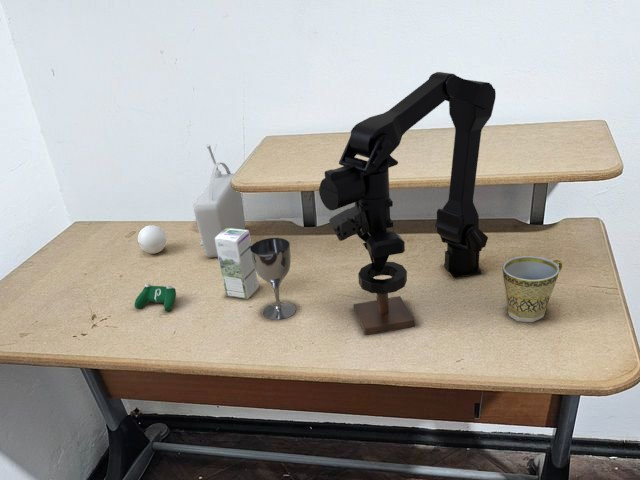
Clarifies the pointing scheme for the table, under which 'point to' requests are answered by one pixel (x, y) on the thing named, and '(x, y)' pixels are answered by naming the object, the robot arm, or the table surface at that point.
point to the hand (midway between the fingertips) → (377, 269)
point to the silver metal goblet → (273, 272)
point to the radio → (218, 208)
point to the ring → (383, 285)
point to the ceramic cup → (529, 286)
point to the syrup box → (236, 263)
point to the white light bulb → (152, 239)
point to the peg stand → (383, 314)
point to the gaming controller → (156, 296)
